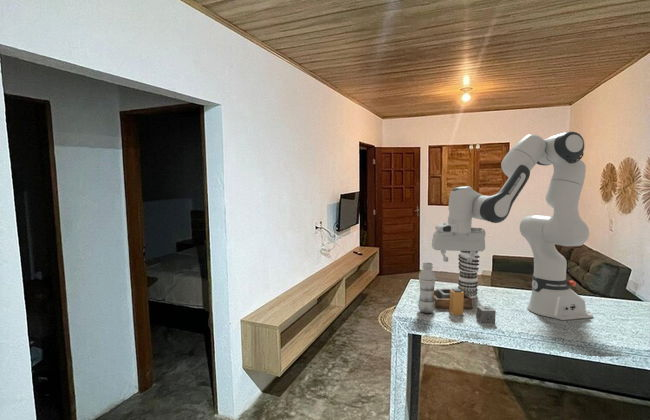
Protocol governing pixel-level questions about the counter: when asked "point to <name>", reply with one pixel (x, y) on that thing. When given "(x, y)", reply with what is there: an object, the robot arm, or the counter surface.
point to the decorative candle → (468, 274)
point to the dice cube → (485, 314)
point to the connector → (456, 301)
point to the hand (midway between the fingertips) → (457, 261)
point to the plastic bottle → (427, 289)
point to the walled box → (448, 299)
